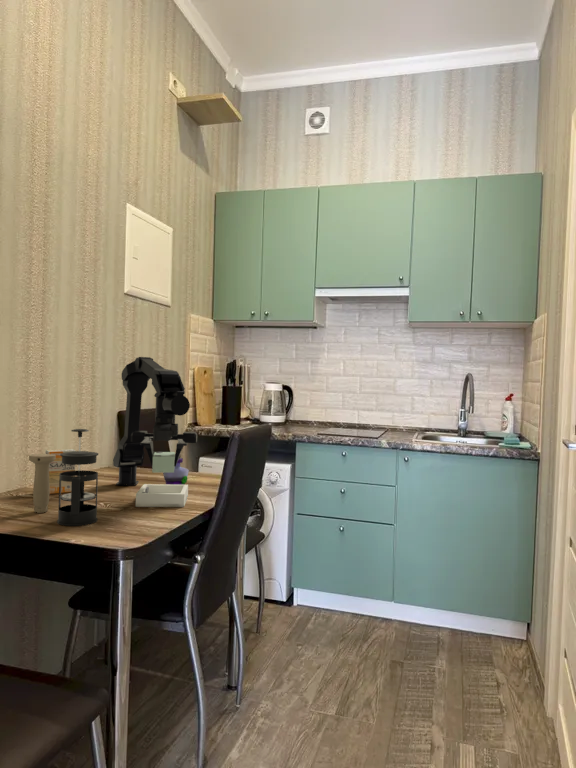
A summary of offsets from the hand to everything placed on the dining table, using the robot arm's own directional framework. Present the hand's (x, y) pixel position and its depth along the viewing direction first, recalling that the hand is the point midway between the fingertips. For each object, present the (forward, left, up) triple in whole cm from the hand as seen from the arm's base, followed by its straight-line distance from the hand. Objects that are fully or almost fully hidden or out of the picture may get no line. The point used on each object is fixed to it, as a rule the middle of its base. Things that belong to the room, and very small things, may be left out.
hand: (163, 466), depth 163 cm
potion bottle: (-15, +2, -11) cm, 18 cm away
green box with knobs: (0, 0, -1) cm, 1 cm away
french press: (+24, -18, -11) cm, 32 cm away
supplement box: (-12, -33, -11) cm, 37 cm away
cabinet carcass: (0, 0, -10) cm, 10 cm away
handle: (+14, -30, -11) cm, 35 cm away
